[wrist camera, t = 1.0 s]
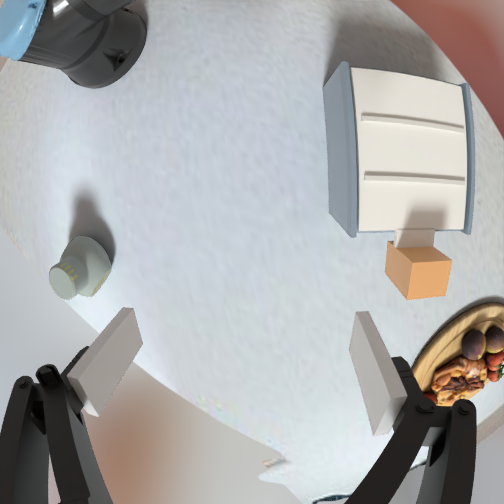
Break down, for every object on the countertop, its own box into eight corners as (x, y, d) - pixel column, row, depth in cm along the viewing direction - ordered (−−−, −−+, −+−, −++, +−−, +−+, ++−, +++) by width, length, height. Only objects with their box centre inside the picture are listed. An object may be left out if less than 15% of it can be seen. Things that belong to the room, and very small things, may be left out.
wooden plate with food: (403, 424, 55) (411, 448, 47) (401, 338, 46) (417, 366, 38) (498, 374, 50) (511, 392, 42) (516, 278, 40) (539, 294, 32)
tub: (322, 88, 34) (342, 61, 22) (422, 97, 32) (468, 84, 20) (329, 212, 40) (350, 237, 28) (425, 211, 38) (470, 234, 26)
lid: (345, 74, 25) (363, 54, 18) (450, 89, 23) (482, 81, 17) (350, 274, 32) (366, 303, 26) (446, 268, 31) (474, 291, 24)
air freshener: (90, 223, 43) (54, 241, 34) (122, 255, 45) (90, 279, 35) (68, 265, 46) (36, 286, 37) (97, 294, 48) (68, 321, 38)
